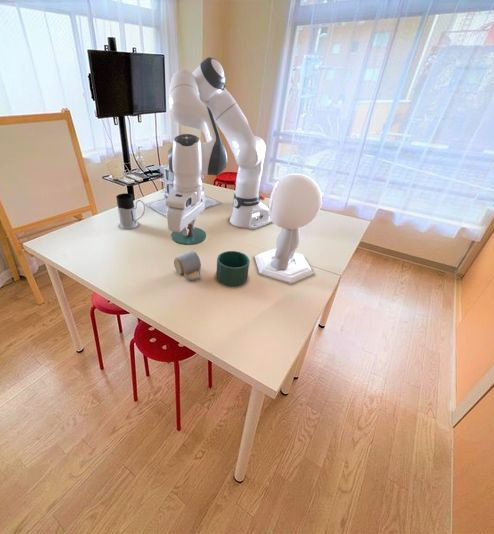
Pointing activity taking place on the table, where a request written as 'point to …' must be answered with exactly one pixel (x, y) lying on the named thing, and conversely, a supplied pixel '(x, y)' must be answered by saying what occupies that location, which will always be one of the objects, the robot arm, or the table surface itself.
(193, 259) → the ceramic mug
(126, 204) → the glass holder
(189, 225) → the lid
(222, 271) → the tin
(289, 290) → the table surface
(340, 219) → the table surface
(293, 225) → the globe table lamp
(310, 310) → the table surface
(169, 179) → the file organizer
